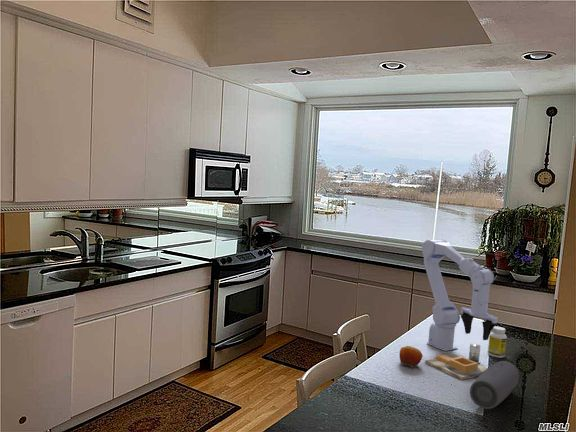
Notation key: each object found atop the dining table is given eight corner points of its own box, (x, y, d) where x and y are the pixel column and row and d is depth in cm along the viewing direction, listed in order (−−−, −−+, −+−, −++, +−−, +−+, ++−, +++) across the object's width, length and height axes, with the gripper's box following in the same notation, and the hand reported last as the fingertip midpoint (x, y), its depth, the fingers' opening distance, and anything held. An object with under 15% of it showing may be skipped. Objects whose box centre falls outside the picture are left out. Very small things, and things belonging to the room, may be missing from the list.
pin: (466, 359, 181) (468, 344, 180) (472, 358, 183) (474, 343, 182) (474, 363, 178) (476, 347, 177) (480, 361, 180) (482, 346, 179)
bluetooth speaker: (489, 384, 159) (492, 355, 159) (519, 393, 154) (522, 363, 153) (465, 406, 142) (469, 374, 141) (498, 418, 136) (502, 384, 135)
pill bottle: (502, 359, 183) (505, 331, 183) (485, 355, 187) (488, 327, 186) (506, 355, 188) (509, 328, 188) (490, 351, 192) (492, 324, 191)
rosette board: (425, 362, 174) (425, 359, 174) (453, 356, 183) (454, 353, 183) (464, 381, 160) (464, 377, 160) (493, 373, 169) (493, 370, 169)
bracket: (433, 359, 176) (433, 352, 176) (445, 356, 180) (445, 349, 179) (465, 373, 164) (465, 366, 164) (477, 370, 168) (478, 363, 168)
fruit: (394, 363, 168) (399, 341, 171) (398, 368, 174) (403, 347, 178) (417, 369, 164) (422, 346, 168) (421, 374, 171) (425, 352, 174)
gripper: (456, 297, 182) (453, 331, 183) (490, 307, 170) (487, 344, 171) (468, 295, 186) (465, 329, 187) (502, 305, 174) (498, 341, 175)
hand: (476, 336), depth 179 cm, fingers open, 7 cm apart
